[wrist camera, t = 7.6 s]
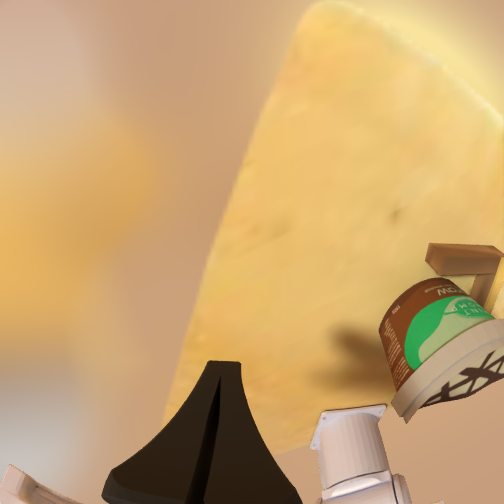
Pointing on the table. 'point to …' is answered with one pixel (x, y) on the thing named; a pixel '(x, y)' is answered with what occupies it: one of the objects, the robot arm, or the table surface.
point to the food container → (440, 346)
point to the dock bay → (471, 268)
